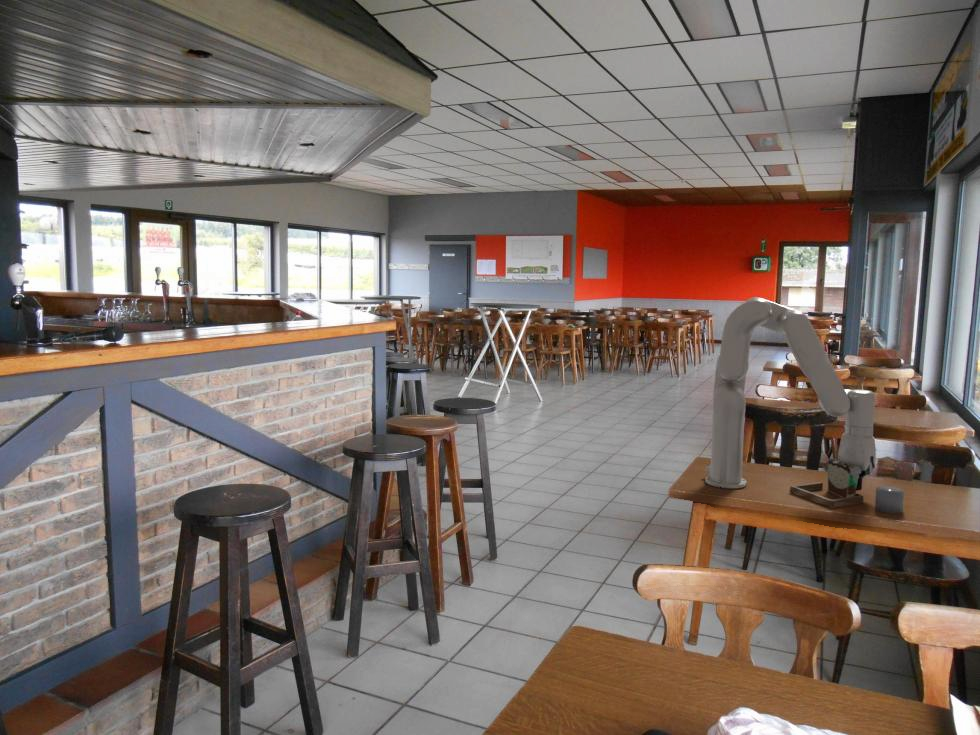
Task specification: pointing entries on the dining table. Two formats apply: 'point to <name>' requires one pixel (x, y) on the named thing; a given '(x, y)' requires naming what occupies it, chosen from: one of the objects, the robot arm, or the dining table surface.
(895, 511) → the grey glossy rounded part
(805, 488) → the frame
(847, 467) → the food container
